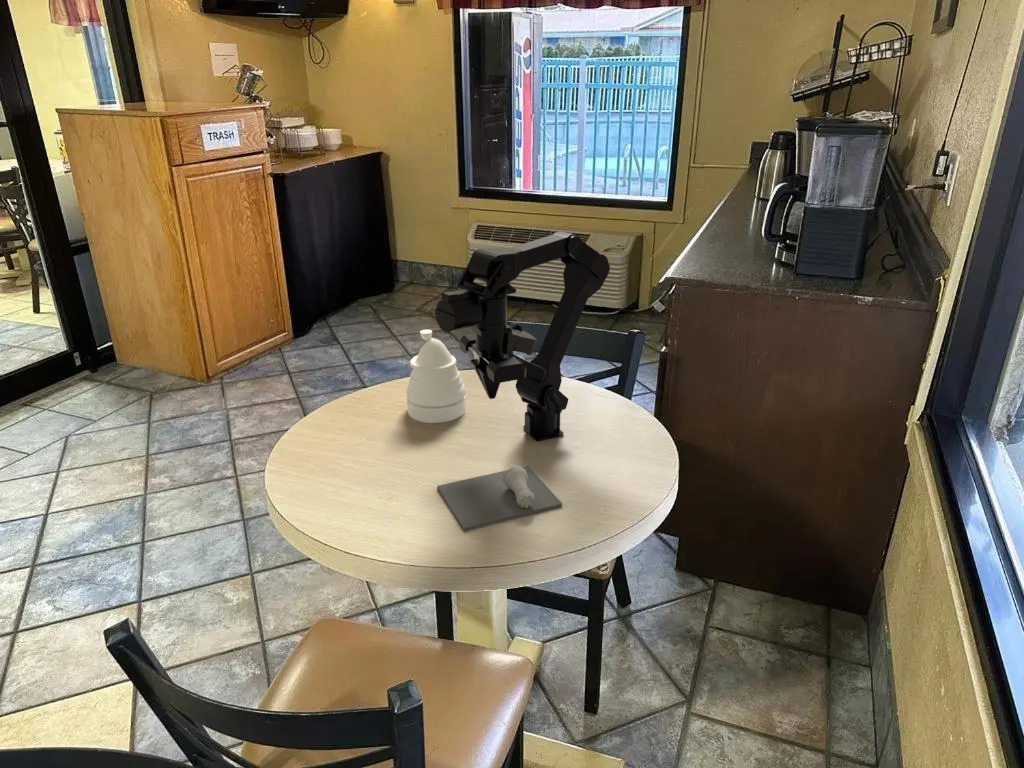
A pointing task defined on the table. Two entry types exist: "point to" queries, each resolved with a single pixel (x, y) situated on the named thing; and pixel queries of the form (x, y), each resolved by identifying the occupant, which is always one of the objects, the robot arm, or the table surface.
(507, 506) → the rubber mat
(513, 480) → the rook chess piece
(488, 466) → the table surface
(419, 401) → the honey pot
